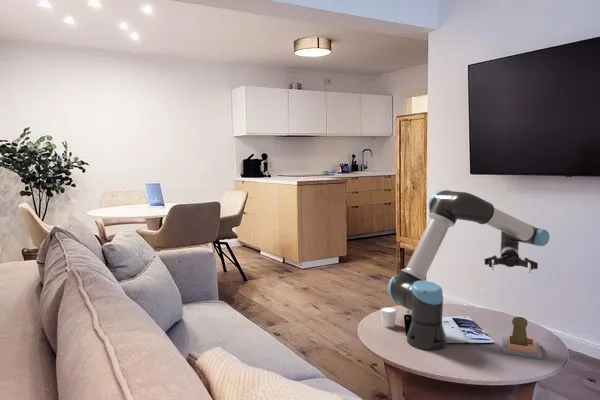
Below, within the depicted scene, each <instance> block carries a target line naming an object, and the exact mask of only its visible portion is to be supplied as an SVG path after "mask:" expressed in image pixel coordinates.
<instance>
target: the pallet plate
mask: <svg viewBox="0 0 600 400" xmlns="http://www.w3.org/2000/svg"><path fill="white" fill-rule="evenodd" d="M511 339H512V334H506V337H503V336H502V337H501V342H502V343H501V345H502V346H501V347H502V354H504V355H511V356H518V357H523V358H530V359H536V360H543V354H542V349H541V345H540V342H539V341H537V339H536V338H535V337H530V336H529V337H528V336H527V342H528V346H523V345H516V344H511Z"/></svg>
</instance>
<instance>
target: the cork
mask: <svg viewBox="0 0 600 400" xmlns="http://www.w3.org/2000/svg"><path fill="white" fill-rule="evenodd" d="M511 323H512V326H513V329H512V334H511V335H512V339H511V344H516V345H523V346H528V342H527V337H528V336H527V327H528V320H527V319H526V318H525V317H522V316H515V317H513V318H512V321H511Z"/></svg>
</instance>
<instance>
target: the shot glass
mask: <svg viewBox="0 0 600 400" xmlns="http://www.w3.org/2000/svg"><path fill="white" fill-rule="evenodd" d="M380 317H381V318H380V319H381V320H380V321H381V326H382V327H384V328H389V327H390V328H394V327H395V326H396V319H397V309H396V308H394V307H390V306H389V307H387V306H385V307H382V308H380Z"/></svg>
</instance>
